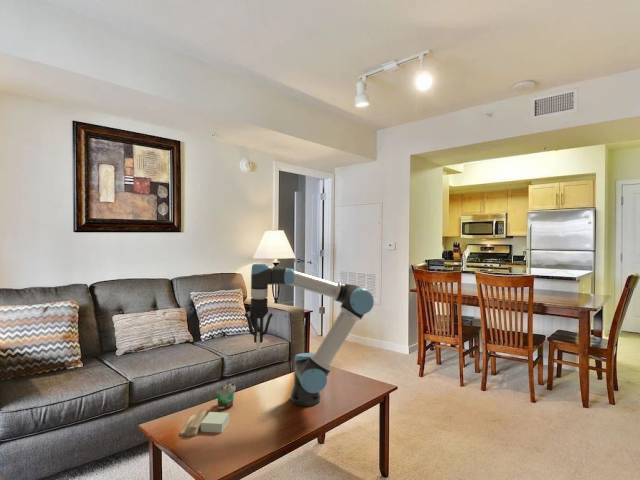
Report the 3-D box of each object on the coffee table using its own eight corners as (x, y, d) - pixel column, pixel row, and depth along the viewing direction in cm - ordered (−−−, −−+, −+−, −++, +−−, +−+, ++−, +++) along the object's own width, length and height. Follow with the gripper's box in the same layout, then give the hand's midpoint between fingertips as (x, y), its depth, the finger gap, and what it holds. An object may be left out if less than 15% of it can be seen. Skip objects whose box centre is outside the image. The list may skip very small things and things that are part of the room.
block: (229, 421, 169) (229, 412, 169) (221, 433, 159) (222, 423, 159) (209, 420, 169) (209, 411, 169) (200, 432, 159) (200, 422, 159)
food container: (228, 413, 177) (229, 391, 177) (216, 411, 178) (216, 390, 178) (239, 401, 189) (239, 381, 189) (227, 400, 190) (228, 380, 190)
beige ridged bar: (206, 417, 172) (206, 409, 172) (196, 435, 156) (196, 427, 156) (191, 417, 172) (192, 409, 172) (180, 435, 156) (180, 426, 156)
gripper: (274, 296, 178) (273, 347, 178) (246, 296, 177) (245, 347, 177) (272, 299, 170) (271, 352, 170) (243, 298, 170) (242, 352, 170)
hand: (258, 349), depth 174 cm, fingers closed
